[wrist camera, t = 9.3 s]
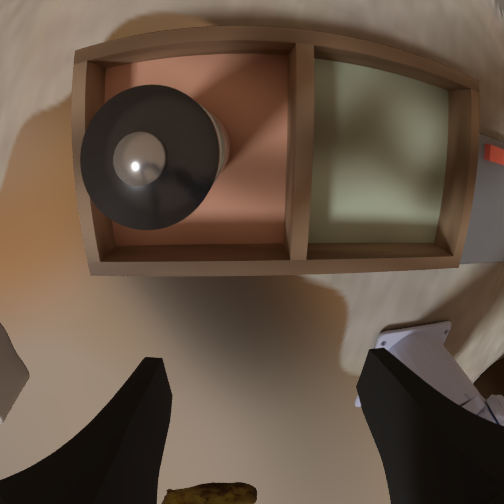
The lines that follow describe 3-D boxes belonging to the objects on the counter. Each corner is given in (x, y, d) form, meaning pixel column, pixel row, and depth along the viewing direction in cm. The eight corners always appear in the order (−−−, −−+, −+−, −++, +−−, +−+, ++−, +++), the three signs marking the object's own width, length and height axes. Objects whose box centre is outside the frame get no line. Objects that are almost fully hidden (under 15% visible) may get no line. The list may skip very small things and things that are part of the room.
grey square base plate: (505, 256, 19) (516, 263, 18) (437, 259, 19) (448, 268, 17) (523, 153, 15) (535, 156, 14) (455, 127, 15) (470, 128, 13)
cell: (231, 183, 15) (219, 233, 7) (156, 187, 15) (83, 237, 7) (230, 107, 13) (216, 73, 6) (153, 113, 13) (70, 97, 6)
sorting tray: (430, 247, 18) (458, 267, 15) (113, 250, 17) (90, 275, 14) (445, 84, 14) (478, 80, 10) (102, 63, 13) (75, 50, 9)
